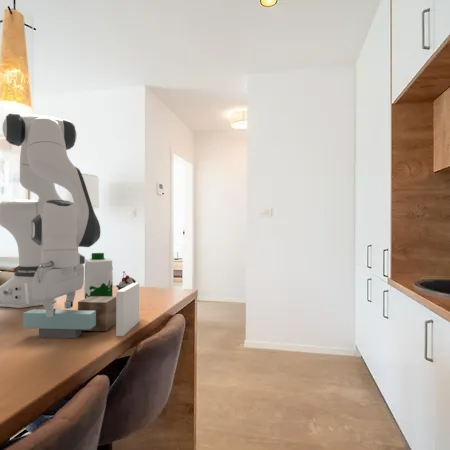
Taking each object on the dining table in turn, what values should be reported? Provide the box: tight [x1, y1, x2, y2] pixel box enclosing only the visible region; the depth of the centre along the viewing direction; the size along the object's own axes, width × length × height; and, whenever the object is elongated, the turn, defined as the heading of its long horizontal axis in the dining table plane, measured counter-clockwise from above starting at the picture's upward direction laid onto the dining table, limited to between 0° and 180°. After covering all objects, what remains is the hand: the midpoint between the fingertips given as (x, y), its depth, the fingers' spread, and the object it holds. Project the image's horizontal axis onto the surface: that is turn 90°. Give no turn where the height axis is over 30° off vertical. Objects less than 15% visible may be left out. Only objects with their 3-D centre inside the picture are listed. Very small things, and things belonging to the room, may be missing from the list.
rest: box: [38, 328, 82, 339], centre depth 95 cm, size 10×3×2 cm, turn 87°
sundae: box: [115, 270, 137, 291], centre depth 115 cm, size 7×7×15 cm
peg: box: [22, 308, 96, 330], centre depth 95 cm, size 18×4×4 cm, turn 87°
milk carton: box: [84, 252, 114, 299], centre depth 120 cm, size 9×9×20 cm
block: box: [77, 296, 116, 332], centre depth 102 cm, size 8×8×8 cm
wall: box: [115, 282, 140, 337], centre depth 102 cm, size 2×14×12 cm, turn 177°
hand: (60, 311), depth 94 cm, fingers open, 8 cm apart
